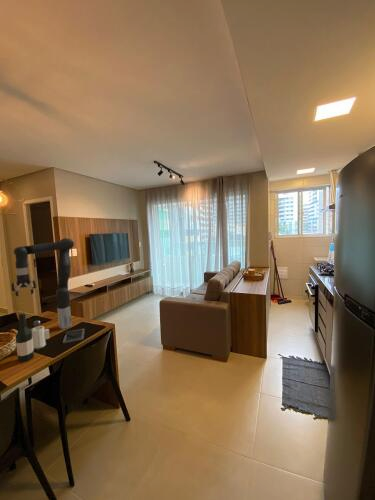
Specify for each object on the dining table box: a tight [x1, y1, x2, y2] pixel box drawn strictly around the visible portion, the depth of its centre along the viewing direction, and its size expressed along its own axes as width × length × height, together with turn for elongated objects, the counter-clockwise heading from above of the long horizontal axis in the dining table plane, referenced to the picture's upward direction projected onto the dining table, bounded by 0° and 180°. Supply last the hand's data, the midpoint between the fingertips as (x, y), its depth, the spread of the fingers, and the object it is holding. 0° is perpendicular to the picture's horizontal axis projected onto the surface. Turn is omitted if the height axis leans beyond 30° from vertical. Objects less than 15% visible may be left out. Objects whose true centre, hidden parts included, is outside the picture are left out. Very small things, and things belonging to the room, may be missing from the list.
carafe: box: [30, 325, 50, 350], centre depth 150 cm, size 10×8×13 cm
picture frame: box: [62, 328, 86, 345], centre depth 163 cm, size 13×2×18 cm
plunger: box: [33, 319, 41, 330], centre depth 149 cm, size 5×5×13 cm
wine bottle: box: [15, 311, 35, 363], centre depth 134 cm, size 8×8×30 cm
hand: (24, 295), depth 158 cm, fingers open, 8 cm apart
